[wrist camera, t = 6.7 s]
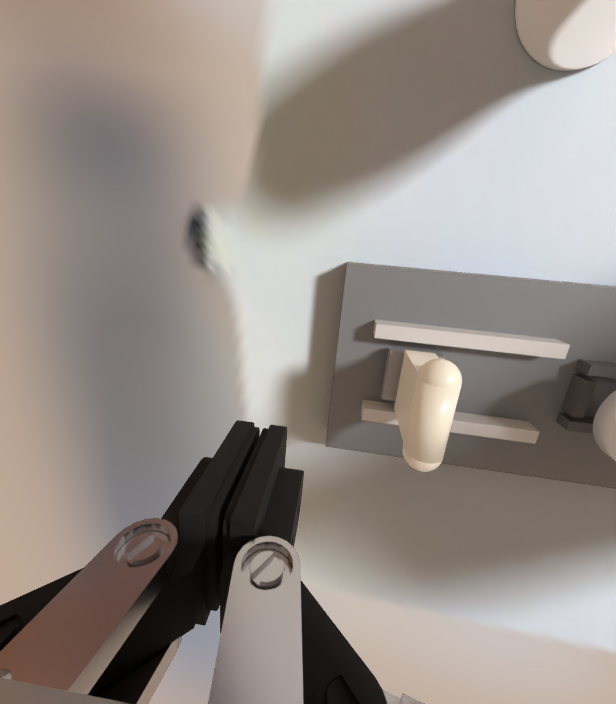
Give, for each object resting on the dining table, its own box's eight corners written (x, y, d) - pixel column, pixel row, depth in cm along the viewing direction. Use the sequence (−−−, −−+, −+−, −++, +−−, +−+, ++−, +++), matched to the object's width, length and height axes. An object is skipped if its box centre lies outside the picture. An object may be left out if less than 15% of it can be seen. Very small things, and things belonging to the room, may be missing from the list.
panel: (844, 307, 18) (948, 319, 15) (735, 487, 21) (799, 527, 18) (347, 262, 20) (346, 264, 17) (327, 430, 24) (324, 457, 21)
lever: (445, 333, 18) (489, 372, 13) (426, 417, 20) (457, 485, 14) (392, 327, 19) (410, 362, 13) (377, 410, 20) (388, 475, 15)
